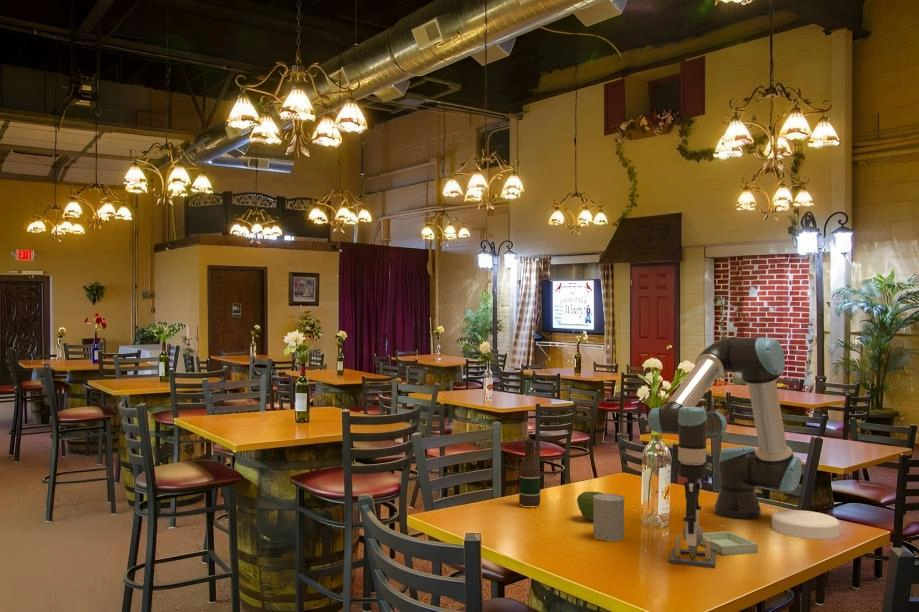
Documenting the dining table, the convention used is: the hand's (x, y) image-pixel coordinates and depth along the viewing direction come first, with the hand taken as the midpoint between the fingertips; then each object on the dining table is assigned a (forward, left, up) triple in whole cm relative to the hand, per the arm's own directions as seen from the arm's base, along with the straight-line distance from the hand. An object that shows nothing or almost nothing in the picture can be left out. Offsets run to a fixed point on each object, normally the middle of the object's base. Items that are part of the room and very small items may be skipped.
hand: (692, 539), depth 205 cm
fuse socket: (0, 0, -6) cm, 6 cm away
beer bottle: (-70, -23, -6) cm, 74 cm away
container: (-18, +52, -6) cm, 56 cm away
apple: (-46, -9, -6) cm, 47 cm away
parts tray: (-8, +16, -6) cm, 19 cm away
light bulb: (0, 0, -6) cm, 6 cm away
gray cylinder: (-26, -13, -6) cm, 30 cm away
